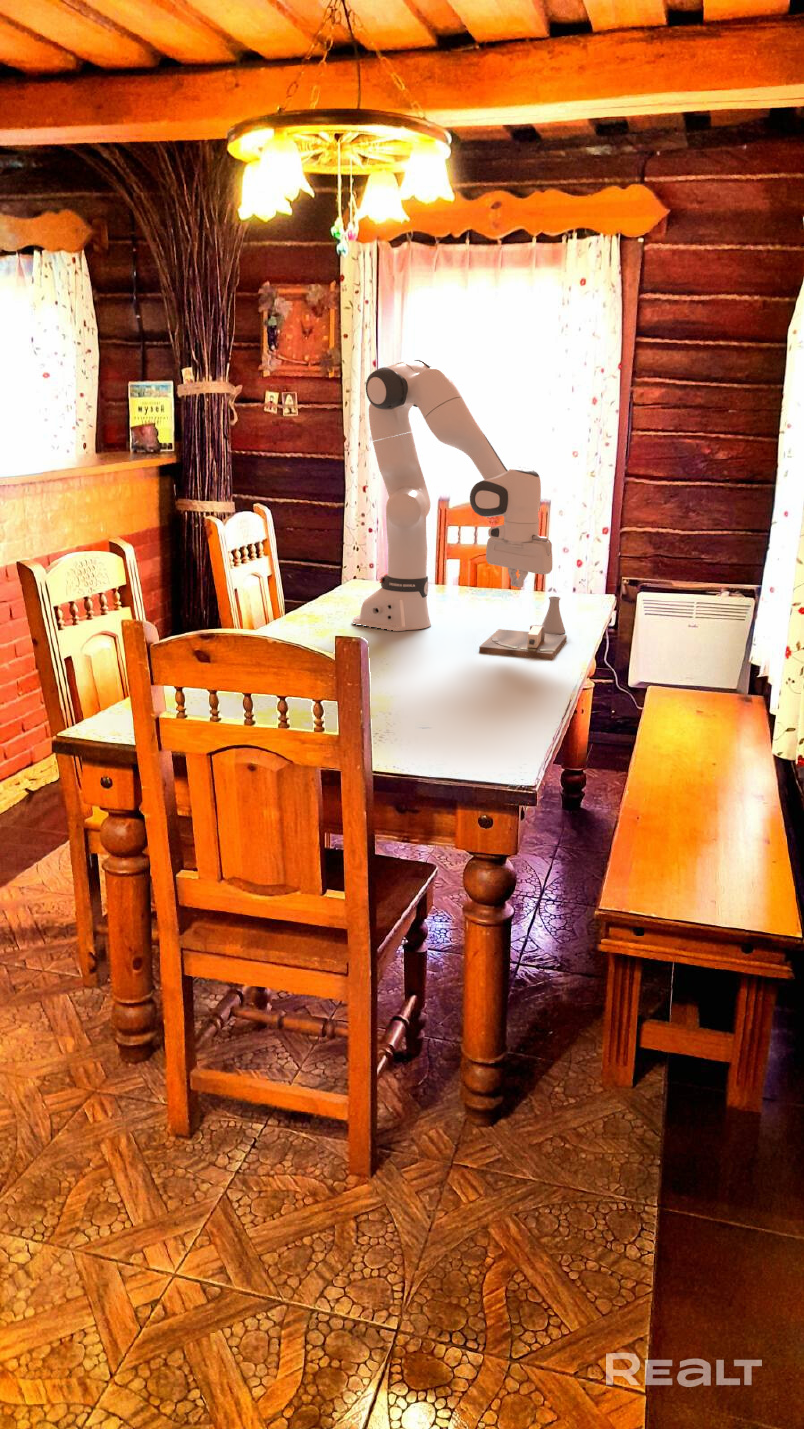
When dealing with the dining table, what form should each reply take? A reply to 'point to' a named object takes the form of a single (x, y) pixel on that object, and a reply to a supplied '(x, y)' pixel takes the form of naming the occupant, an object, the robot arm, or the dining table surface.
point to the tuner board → (522, 644)
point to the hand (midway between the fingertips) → (516, 586)
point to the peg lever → (535, 635)
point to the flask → (553, 618)
